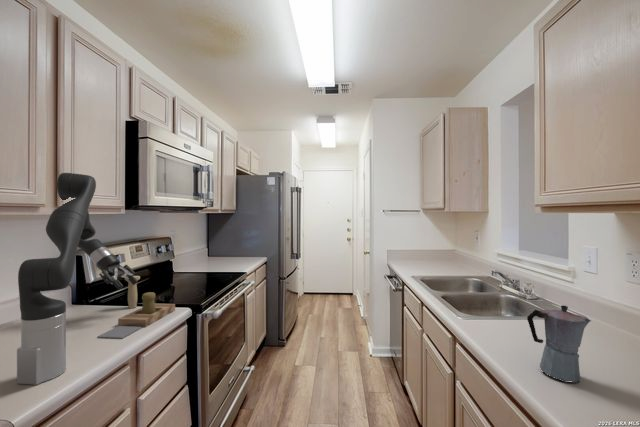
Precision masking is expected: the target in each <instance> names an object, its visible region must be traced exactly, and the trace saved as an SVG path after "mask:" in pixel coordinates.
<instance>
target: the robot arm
mask: <svg viewBox="0 0 640 427" xmlns="http://www.w3.org/2000/svg"><path fill="white" fill-rule="evenodd" d="M96 188H97V182H96V179H95V177H93V176H92V175H89V174H82V173H75V172H74V173H72V172H61V173H60V174H59V175H58V176H57V180H56V191H57V194H58V196H59V199H60V198H61V199H62V200H66V199H68V198H69V197H71V198H75V199H73V200H71V201H69V202H67V203H65V204H61V205H60V206H59V207H57V208H55V209H54V210H53V211H52V212H51V214H50V216H49V218H48V220H47V222H46V226H45V231H46V235H47V236H48V238H49V239H50V240H51V242H52V243H53V244H54V246H56V247H57V249H58V251H59V252H60V255H59V256H58V257H47V258H44V257H43V258H32V259H30V258H29V259H26V260H24V261H22V263H21V264H20V266H19V269H18V274H17V280H18V282H17V283H18V293H19V294H18V296H19V310H20V347H17V349H16V384H19V385H35V386H36V385H39V384H41V383H44V382H47V381H50V380H52V379H55V378H57V377H58V376H60V375H62V374H63V373H65V371H66V370H67V327H66V326H67V306H66V302H65V301H64V300H62V299H55V298H52V297H51V298H50V297H48V296H46V295H43V293H42V292H49V291H59V290H63V289H66V288H68V287H69V285H70V283H71V281H72V278H73V274H74V269H75V263H76V256H77V252H78V249H80V250H82V251H83V252H84V253H85V254H86V255H87V256H88V257H89V259H90V260H91V261H92V262H93V264H94V265H95V266H96V267H97V268H98V269H99V270H100V273H99V274H98V275H99V276H100V278H101V279H102V280H103V281H104V282H105V283H106V284H107V285H109V284H111V285H113V286H114V287H115V288H116V289H117V290H122V289H123V288H124V285H123V284H122V283H121V281H120V280H119V279H118V278H120V277H121V278H124V279H125V278H127V279H128V280H129V281H130V282H131V283H132V284H133V285H135V284H136V283H138V281H139V280H138V281H137V280H136V279H135V278H134V276H135V274H136V272H135V271H134V270H133V268H132V267H130V266H129V265H128V264H125V265H121V264H120V263H121V262H120V260H119V258H118V257H117V256H116V255H114V253H113V252H112V251H111V250H110V249H109V248H108V247H106V246H105V245H104V243H103V242H102V241H101V240H99V239H98V238H94V239H93V238H92V237H94V236H95V235H96V232H97V231H96V229H95V227H94V226H93V224H92V223H91V221H90V220H91V219H90V213H89V207H90V206H91V202H92V200H93V198H94V195H95V192H96ZM61 199H60V200H61ZM91 238H92V239H91Z"/></svg>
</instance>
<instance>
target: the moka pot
mask: <svg viewBox="0 0 640 427" xmlns="http://www.w3.org/2000/svg"><path fill="white" fill-rule="evenodd" d="M560 308H561V309H544V310H538V309H534V310H533V311H532V312H531V313H530V314H528V315H527V317H526V318H527V319H526V320H527V322H528V326H529V329H530V332H531V335H532V338H533V341H534V342H536V343H539V344H543V342H544V340H543V339H541V338H539V337H538V335H537V331H536V327H535V324H534V322H535V321H534V318H535V317H538V318H540V319H543V320H544V321H543V322H544V331H545V332H544V334H545V345H544V349H543V352H542V355H541V356H542V357H541V360H540V362H539V369H540V368H541V370H542V371H543V372H545V373H546V374H548V375H550V376H552V377H555V378H557V379H561V380H563V381H572V382H577V381H579V380H580V381H581V372H580V362H579V360H580V359H579V358H580V354H579V348H580V347H581V344H582V339H583V335H584V332H585V329H586V327H587V325H589V323H590V322H592V320H591V319H589V318H587V317H586V316H583V315H579V314H575V313H572V312H569V311H568V309H569V307H568V306H567V305H560ZM541 370H540V371H541ZM542 371H541V372H542ZM543 372H542V373H543ZM546 374H545V375H546ZM548 375H547V376H548ZM550 376H549V377H550ZM552 377H551V378H552Z"/></svg>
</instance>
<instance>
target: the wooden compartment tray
mask: <svg viewBox="0 0 640 427" xmlns="http://www.w3.org/2000/svg"><path fill="white" fill-rule="evenodd" d="M154 303H155V309H156V312H155V313H153V314H141V313H142V307H140V308H138V309H136V310H134V311H132V312H130V313H128V314H125V315H123V316H121V317H119V318H118V319H117V326H134V327H142V328H147V327H148V326H150V325H153V324H154V323H155V322H157V321H160V320H161V319H163V318H164V317H166V316H168V315H169V314H172V313H173V312H175V311H176V304H175V303H156V302H154Z"/></svg>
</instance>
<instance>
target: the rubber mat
mask: <svg viewBox="0 0 640 427" xmlns="http://www.w3.org/2000/svg"><path fill="white" fill-rule="evenodd" d="M141 329H143V327H134V326H118V325H117V326H116V327H113V328H112V329H109V330H108V331H105V332H103V333H101V334H99V335H98V336H96V337H97V339H116V340H117V339H119V340H120V339H121V340H123V339H125V338H127V337H129V336H131V335H132V334H134V333H135V332H138V331H139V330H141Z"/></svg>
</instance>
